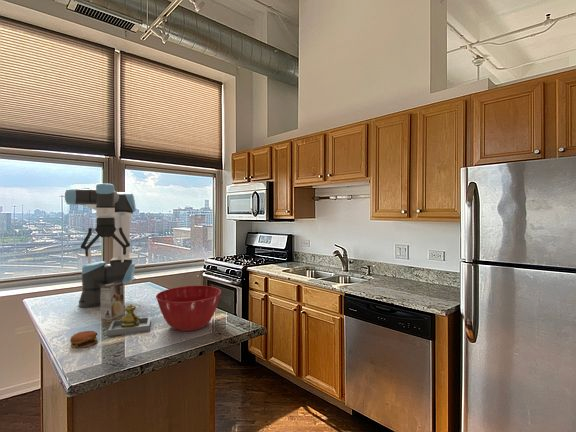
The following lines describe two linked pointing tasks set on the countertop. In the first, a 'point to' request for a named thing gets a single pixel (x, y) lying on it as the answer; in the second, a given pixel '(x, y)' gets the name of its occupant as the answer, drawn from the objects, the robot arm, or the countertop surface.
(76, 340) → the burger
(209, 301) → the mixing bowl
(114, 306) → the coffee box
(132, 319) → the brass door knob
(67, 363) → the countertop surface
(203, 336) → the countertop surface
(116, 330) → the tray
